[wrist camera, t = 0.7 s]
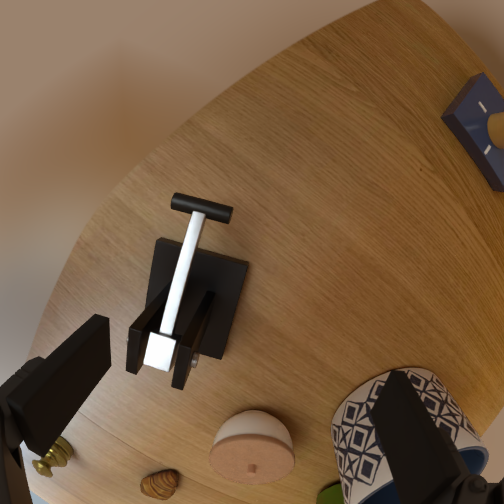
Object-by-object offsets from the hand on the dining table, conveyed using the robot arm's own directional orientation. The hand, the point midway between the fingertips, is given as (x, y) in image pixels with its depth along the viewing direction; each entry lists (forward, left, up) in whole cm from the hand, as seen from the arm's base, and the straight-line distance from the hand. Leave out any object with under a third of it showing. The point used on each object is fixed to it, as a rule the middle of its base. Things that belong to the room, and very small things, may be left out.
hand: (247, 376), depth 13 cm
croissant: (+48, -6, -21) cm, 52 cm away
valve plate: (-23, +23, -21) cm, 39 cm away
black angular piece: (+7, -6, -21) cm, 22 cm away
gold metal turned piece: (+51, -29, -21) cm, 62 cm away
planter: (+18, +25, -21) cm, 37 cm away
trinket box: (+24, +6, -21) cm, 32 cm away
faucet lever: (+2, -6, -13) cm, 14 cm away
